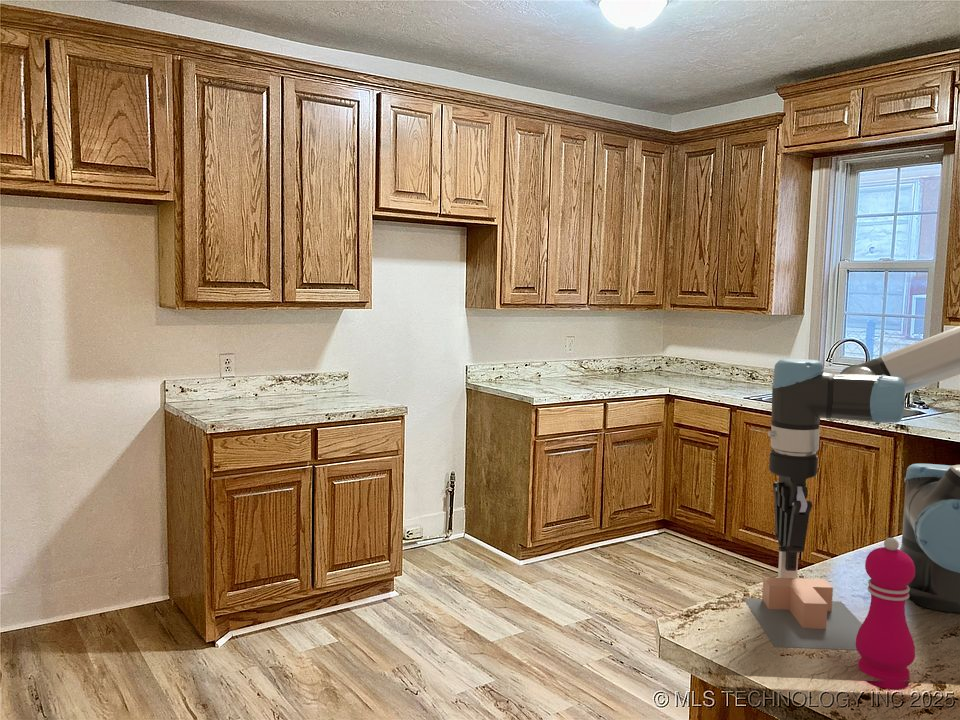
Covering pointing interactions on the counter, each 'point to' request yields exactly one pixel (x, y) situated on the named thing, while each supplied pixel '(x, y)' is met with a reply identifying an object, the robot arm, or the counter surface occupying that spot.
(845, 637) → the mat
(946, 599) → the robot arm
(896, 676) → the pepper mill
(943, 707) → the counter surface
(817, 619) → the t block
